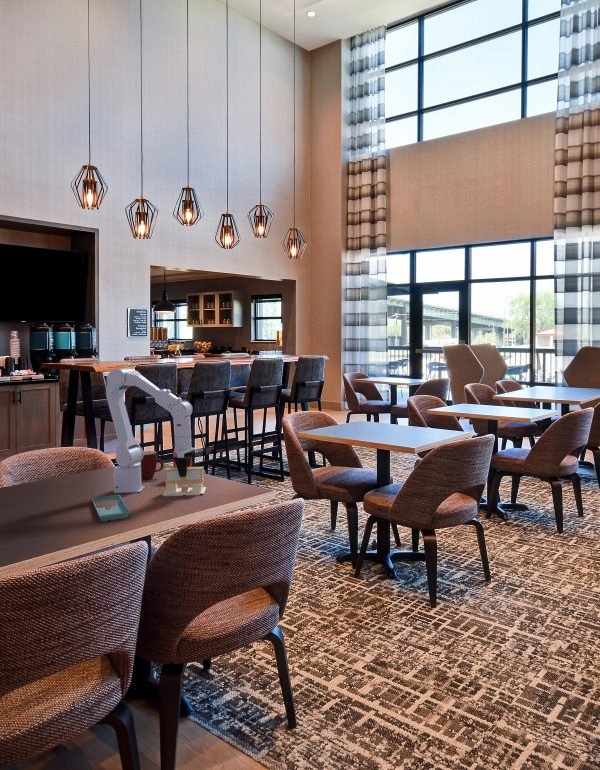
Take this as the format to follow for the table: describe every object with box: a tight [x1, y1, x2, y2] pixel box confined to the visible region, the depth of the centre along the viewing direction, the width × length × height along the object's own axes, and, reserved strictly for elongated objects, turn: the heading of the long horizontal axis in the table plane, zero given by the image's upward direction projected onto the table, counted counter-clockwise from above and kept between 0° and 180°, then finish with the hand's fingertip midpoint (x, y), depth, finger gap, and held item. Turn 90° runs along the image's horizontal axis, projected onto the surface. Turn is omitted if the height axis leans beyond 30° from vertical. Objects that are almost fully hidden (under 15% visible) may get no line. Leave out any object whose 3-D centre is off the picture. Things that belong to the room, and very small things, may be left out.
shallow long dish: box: [91, 494, 131, 522], centre depth 200 cm, size 26×9×2 cm, turn 23°
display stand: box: [162, 482, 207, 497], centre depth 220 cm, size 14×9×4 cm, turn 92°
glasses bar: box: [164, 466, 205, 485], centre depth 220 cm, size 13×3×5 cm, turn 92°
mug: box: [141, 450, 164, 480], centre depth 245 cm, size 11×8×10 cm
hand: (184, 474), depth 220 cm, fingers open, 7 cm apart
